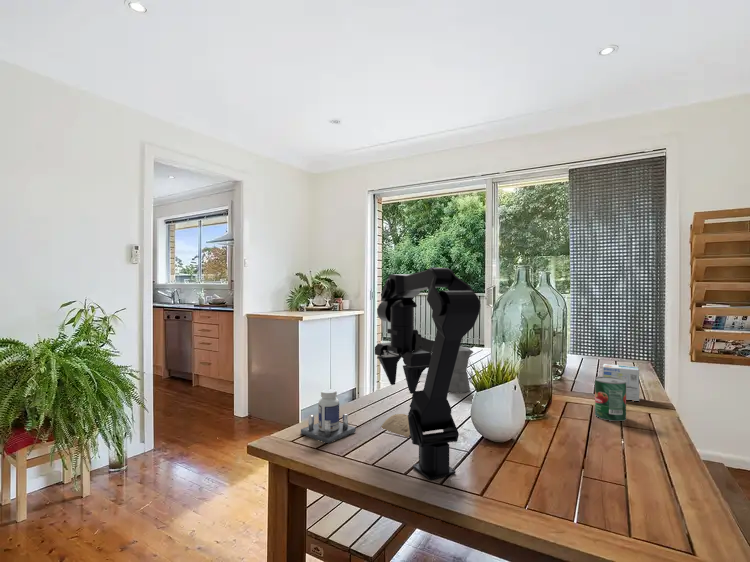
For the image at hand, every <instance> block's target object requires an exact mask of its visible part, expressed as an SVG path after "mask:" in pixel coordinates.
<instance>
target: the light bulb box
mask: <svg viewBox="0 0 750 562" xmlns="http://www.w3.org/2000/svg"><path fill="white" fill-rule="evenodd" d="M602 377H614V378H619V379H623V380H625V381H626V399H627V400H634V401H639V402H640V395H641V394H640V369H639V366H632V365H621V364H611V363H610V364H609V363H604V364H602ZM634 401H633V402H634Z"/></svg>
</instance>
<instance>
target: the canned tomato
mask: <svg viewBox="0 0 750 562" xmlns="http://www.w3.org/2000/svg"><path fill="white" fill-rule="evenodd" d="M595 415H596V416H597V417H599V418H601V419H600V420H602V419H604V420H603V421H605V420H609V421H608V422H611V421H624V422H626V421H627V401H626V381H625V380H623V379H619V378H614V377H603V376H597V377H594V416H595ZM596 416H595V417H596ZM597 417H596V418H597ZM599 418H598V419H599ZM625 420H626V421H625Z"/></svg>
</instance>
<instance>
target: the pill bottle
mask: <svg viewBox="0 0 750 562" xmlns="http://www.w3.org/2000/svg"><path fill="white" fill-rule="evenodd" d="M337 391H338V390H336V389H332V388H331V389H330V388H329V389H322V390H321V392H320V396H321V398H320V399H319V400H318V411H317V412H318V413H317V414H318V423H319V429H320V430H321V431H325V420H330V432H331V431H335V430H337V429H338V428H339V423H340V400H339V399H338V397H337Z"/></svg>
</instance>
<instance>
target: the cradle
mask: <svg viewBox="0 0 750 562" xmlns="http://www.w3.org/2000/svg"><path fill="white" fill-rule="evenodd" d="M354 432H355V433H356V432H357V431H356V427H355V426H352V425H349V413H342V422H339V428H338V429H337V430H335V431H331V432H330V420H325V431H321V430H320V429H319V422H318V423H315V415H314V414H308V426H306V427H303V428H300V435H303V436H305V435H306V436H305V437H307V438H311V439H313V438H314V440H316V441H318V440H319V441H318V442H321V441H322V442H321V443H324V442H325V443H324V444H326V443H328V444H330V443H333V442H335V441H337V439H338V440H340V439H343V438H345V437H347V435H348V436H350V435H353V434H355V433H354ZM352 433H353V434H352ZM349 434H350V435H349ZM344 436H345V437H344ZM342 437H343V438H342ZM339 438H340V439H339ZM334 440H335V441H334ZM332 441H333V442H332Z"/></svg>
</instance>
